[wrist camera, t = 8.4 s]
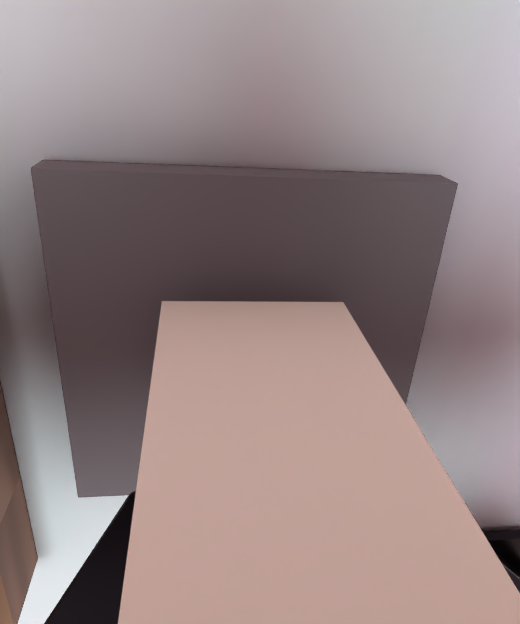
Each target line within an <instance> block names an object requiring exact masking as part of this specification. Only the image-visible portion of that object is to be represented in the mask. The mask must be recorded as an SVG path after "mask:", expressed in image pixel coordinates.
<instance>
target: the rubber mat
mask: <svg viewBox="0 0 520 624" xmlns="http://www.w3.org/2000/svg"><path fill="white" fill-rule="evenodd" d="M31 173H32V180H33V187H34V194H35V201H36V208H37V215H38V222H39V229H40V236H41V243H42V250H43V257H44V263H45V270H46V277H47V284H48V291H49V298H50V305H51V312H52V319H53V326H54V333H55V340H56V347H57V354H58V361H59V368H60V375H61V382H62V389H63V396H64V403H65V409H66V416H67V423H68V430H69V437H70V444H71V451H72V458H73V465H74V472H75V479H76V486H77V493H78V497H98V496H119V495H129V494H130V493H131V492H133V491H136V487H137V480H138V472H139V465H140V458H141V450H142V443H143V436H144V428H145V421H146V414H147V406H148V399H149V392H150V384H151V377H152V370H153V362H154V355H155V348H156V340H157V333H158V326H159V318H160V311H161V304H162V301H246V302H343V303H344V304H345V306H346V308H347V309H348V311H349V312H350V314H351V316H352V317H353V319H354V321H355V322H356V324H357V326H358V327H359V329H360V331H361V332H362V334H363V336H364V337H365V339H366V341H367V342H368V344H369V345H370V347H371V349H372V350H373V352H374V354H375V355H376V357H377V359H378V360H379V362H380V364H381V365H382V367H383V369H384V370H385V372H386V374H387V375H388V377H389V378H390V380H391V382H392V383H393V385H394V387H395V388H396V390H397V392H398V393H399V395H400V397H401V398H402V400H403V402H404V403H405V405H406V401H407V397H408V392H409V388H410V384H411V380H412V375H413V371H414V367H415V363H416V359H417V354H418V350H419V346H420V342H421V337H422V333H423V329H424V325H425V320H426V316H427V312H428V308H429V303H430V299H431V295H432V291H433V287H434V282H435V278H436V274H437V270H438V265H439V261H440V257H441V253H442V248H443V244H444V240H445V236H446V231H447V227H448V223H449V219H450V214H451V210H452V206H453V202H454V198H455V193H456V189H457V185H458V184H457V183H455V182H453V181H451V180H449V179H447V178H445V177H443V176H441V175H424V174H398V173H372V172H346V171H320V170H294V169H268V168H242V167H216V166H190V165H164V164H138V163H112V162H86V161H60V160H42V161H41V162H39V163H38V164H36V165H35V166H33V167H32V168H31Z"/></svg>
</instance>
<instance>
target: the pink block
mask: <svg viewBox="0 0 520 624" xmlns="http://www.w3.org/2000/svg"><path fill="white" fill-rule="evenodd" d="M118 624H520V593H519V591H518V590H517V588H516V586H515V585H514V583H513V581H512V580H511V578H510V576H509V575H508V573H507V572H506V570H505V568H504V567H503V565H502V563H501V562H500V560H499V558H498V557H497V555H496V553H495V552H494V550H493V548H492V547H491V545H490V543H489V542H488V540H487V539H486V537H485V535H484V534H483V532H482V530H481V529H480V527H479V525H478V524H477V522H476V520H475V519H474V517H473V515H472V514H471V512H470V510H469V509H468V507H467V506H466V504H465V502H464V501H463V499H462V497H461V496H460V494H459V492H458V491H457V489H456V487H455V486H454V484H453V482H452V481H451V479H450V477H449V476H448V474H447V473H446V471H445V469H444V468H443V466H442V464H441V463H440V461H439V459H438V458H437V456H436V454H435V453H434V451H433V449H432V448H431V446H430V444H429V443H428V441H427V440H426V438H425V436H424V435H423V433H422V431H421V430H420V428H419V426H418V425H417V423H416V421H415V420H414V418H413V416H412V415H411V413H410V411H409V410H408V408H407V407H406V405H405V403H404V402H403V400H402V398H401V397H400V395H399V393H398V392H397V390H396V388H395V387H394V385H393V383H392V382H391V380H390V378H389V377H388V375H387V374H386V372H385V370H384V369H383V367H382V365H381V364H380V362H379V360H378V359H377V357H376V355H375V354H374V352H373V350H372V349H371V347H370V345H369V344H368V342H367V341H366V339H365V337H364V336H363V334H362V332H361V331H360V329H359V327H358V326H357V324H356V322H355V321H354V319H353V317H352V316H351V314H350V312H349V311H348V309H347V308H346V306H345V304H344V303H343V302H246V301H162V304H161V311H160V318H159V326H158V333H157V340H156V348H155V355H154V362H153V370H152V377H151V384H150V392H149V399H148V406H147V414H146V421H145V428H144V436H143V443H142V450H141V458H140V465H139V472H138V480H137V487H136V494H135V502H134V509H133V516H132V524H131V531H130V538H129V546H128V553H127V560H126V568H125V575H124V583H123V590H122V597H121V605H120V612H119V619H118Z"/></svg>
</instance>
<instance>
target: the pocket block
mask: <svg viewBox="0 0 520 624" xmlns="http://www.w3.org/2000/svg"><path fill="white" fill-rule="evenodd" d="M36 563H37V554H36V549H35V545H34V540H33V535H32V530H31V526H30V521H29V516H28V511H27V506H26V502H25V497H24V492H23V487H22V483H21V478H20V473H19V468H18V464H17V459H16V454H15V449H14V445H13V440H12V435H11V430H10V426H9V421H8V416H7V411H6V407H5V402H4V397H3V392H2V388H1V383H0V624H17V623H18V620H19V617H20V614H21V611H22V607H23V604H24V601H25V598H26V595H27V591H28V588H29V585H30V582H31V579H32V575H33V572H34V569H35V566H36Z"/></svg>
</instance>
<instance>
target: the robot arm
mask: <svg viewBox="0 0 520 624" xmlns="http://www.w3.org/2000/svg"><path fill="white" fill-rule="evenodd" d="M135 494H136V491H133V492H131V493H130V494H129V496H128V497H127V499H126V500H125V502H124V503H123V505H122V506H121V508H120V509H119V511H118V512H117V514H116V515H115V517H114V519H113V520H112V522H111V523H110V525H109V526H108V528H107V529H106V531H105V532H104V534H103V535H102V537H101V538H100V540H99V541H98V543H97V544H96V546H95V547H94V549H93V550H92V552H91V553H90V555H89V556H88V558H87V559H86V561H85V563H84V564H83V566H82V567H81V569H80V570H79V572H78V573H77V575H76V576H75V578H74V579H73V581H72V582H71V584H70V585H69V587H68V588H67V590H66V591H65V593H64V594H63V596H62V597H61V599H60V600H59V602H58V604H57V605H56V607H55V608H54V610H53V611H52V613H51V614H50V616H49V617H48V619H47V620H46V622H45V623H44V624H118V619H119V612H120V605H121V597H122V590H123V583H124V575H125V568H126V560H127V553H128V546H129V538H130V531H131V524H132V516H133V509H134V502H135ZM483 534H484V535H485V537H486V539H487V540H488V542H489V543H490V545H491V547H492V548H493V550H494V552H495V553H496V555H497V557H498V558H499V560H500V562H501V563H502V565H503V567H504V568H505V570H506V572H507V573H508V575H509V576H510V578H511V580H512V581H513V583H514V585H515V586H516V588H517V590H518V591H519V593H520V530H507V531H491V532H483Z"/></svg>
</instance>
